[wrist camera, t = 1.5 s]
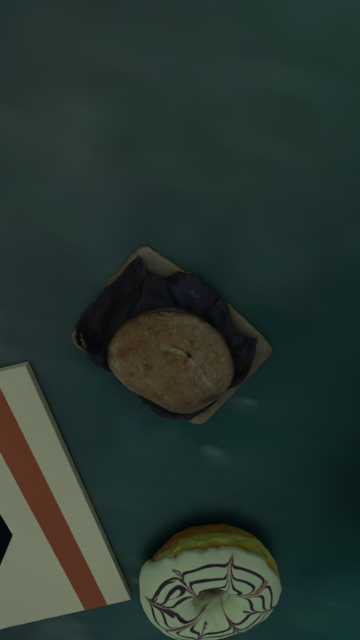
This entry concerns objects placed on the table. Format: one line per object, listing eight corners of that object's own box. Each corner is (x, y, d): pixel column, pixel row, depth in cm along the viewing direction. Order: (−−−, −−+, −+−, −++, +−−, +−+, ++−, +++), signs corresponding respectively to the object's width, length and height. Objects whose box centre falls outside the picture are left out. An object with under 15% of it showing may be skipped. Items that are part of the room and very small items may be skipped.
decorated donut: (116, 550, 27) (109, 604, 23) (231, 491, 25) (243, 539, 22) (183, 615, 30) (187, 671, 27) (289, 566, 29) (307, 618, 25)
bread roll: (278, 340, 21) (302, 368, 18) (192, 427, 23) (199, 468, 20) (148, 230, 18) (146, 238, 15) (61, 340, 20) (42, 369, 17)
